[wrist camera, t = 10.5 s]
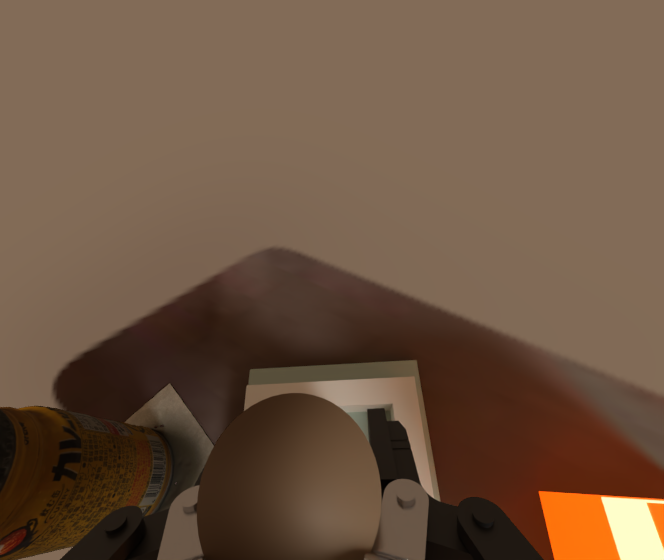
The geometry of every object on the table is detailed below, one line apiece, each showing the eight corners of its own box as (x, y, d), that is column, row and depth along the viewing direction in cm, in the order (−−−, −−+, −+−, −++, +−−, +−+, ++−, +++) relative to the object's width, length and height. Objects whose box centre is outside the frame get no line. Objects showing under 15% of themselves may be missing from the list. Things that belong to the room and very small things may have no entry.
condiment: (63, 476, 22) (-204, 478, 12) (171, 383, 24) (31, 318, 14) (108, 579, 19) (-201, 706, 8) (225, 460, 21) (97, 448, 11)
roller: (367, 430, 17) (372, 389, 9) (375, 539, 15) (392, 617, 6) (283, 433, 17) (213, 396, 9) (278, 541, 15) (177, 619, 7)
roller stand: (414, 364, 23) (421, 348, 20) (460, 638, 16) (481, 675, 13) (254, 372, 24) (238, 358, 21) (228, 639, 17) (198, 674, 14)
